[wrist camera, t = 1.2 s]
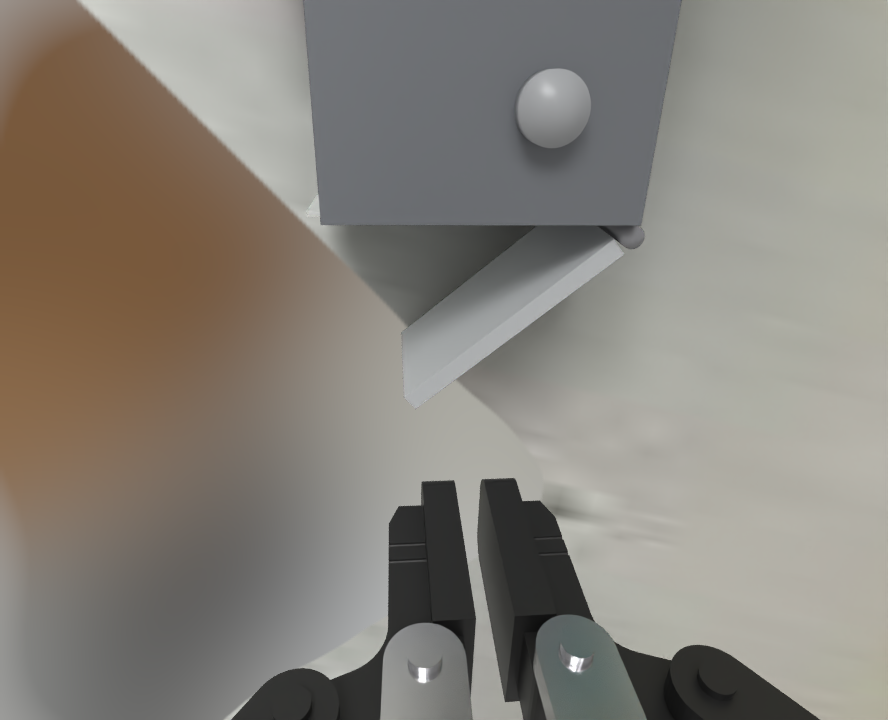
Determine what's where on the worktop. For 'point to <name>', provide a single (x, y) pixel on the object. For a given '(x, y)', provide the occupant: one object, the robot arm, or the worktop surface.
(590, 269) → the side door
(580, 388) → the worktop surface
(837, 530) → the worktop surface
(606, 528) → the worktop surface
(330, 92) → the grey knobbed box
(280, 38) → the worktop surface
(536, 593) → the robot arm
